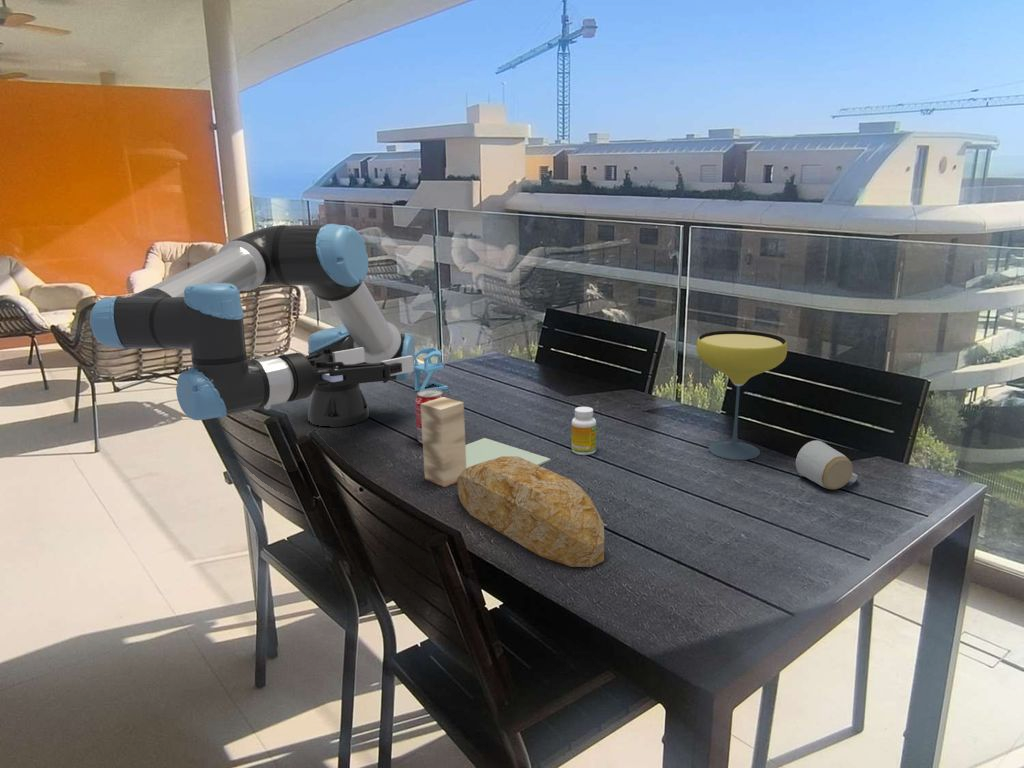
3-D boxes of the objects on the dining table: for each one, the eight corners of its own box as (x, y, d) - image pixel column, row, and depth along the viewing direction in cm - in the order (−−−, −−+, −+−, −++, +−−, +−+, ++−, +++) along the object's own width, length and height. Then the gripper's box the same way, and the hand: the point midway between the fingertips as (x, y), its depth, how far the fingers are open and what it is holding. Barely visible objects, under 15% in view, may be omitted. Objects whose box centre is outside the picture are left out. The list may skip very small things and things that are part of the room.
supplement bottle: (594, 456, 155) (595, 413, 152) (570, 454, 156) (570, 412, 153) (597, 447, 160) (597, 405, 157) (573, 446, 161) (573, 404, 158)
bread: (622, 553, 115) (624, 496, 112) (573, 577, 109) (573, 517, 106) (489, 484, 142) (487, 437, 140) (443, 500, 136) (440, 450, 133)
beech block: (424, 479, 145) (420, 403, 141) (447, 470, 149) (443, 396, 145) (444, 487, 141) (440, 409, 137) (466, 477, 145) (463, 402, 141)
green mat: (432, 459, 155) (432, 457, 155) (484, 439, 166) (484, 437, 166) (498, 483, 142) (498, 481, 142) (550, 460, 153) (550, 458, 153)
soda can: (453, 439, 167) (451, 389, 164) (438, 449, 161) (435, 398, 158) (427, 435, 170) (424, 386, 167) (411, 445, 164) (408, 395, 160)
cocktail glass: (791, 449, 157) (802, 337, 150) (755, 474, 144) (764, 353, 137) (715, 431, 168) (722, 326, 162) (675, 452, 156) (680, 340, 149)
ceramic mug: (822, 494, 134) (826, 456, 132) (792, 478, 142) (796, 441, 140) (867, 487, 137) (872, 449, 135) (836, 471, 145) (841, 435, 143)
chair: (409, 390, 207) (406, 349, 204) (432, 384, 213) (430, 344, 209) (425, 395, 202) (422, 354, 199) (448, 389, 207) (446, 348, 204)
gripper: (243, 390, 122) (346, 370, 138) (329, 415, 106) (434, 389, 122) (239, 347, 120) (343, 331, 136) (326, 365, 104) (433, 345, 120)
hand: (386, 358), depth 129 cm, fingers open, 13 cm apart
